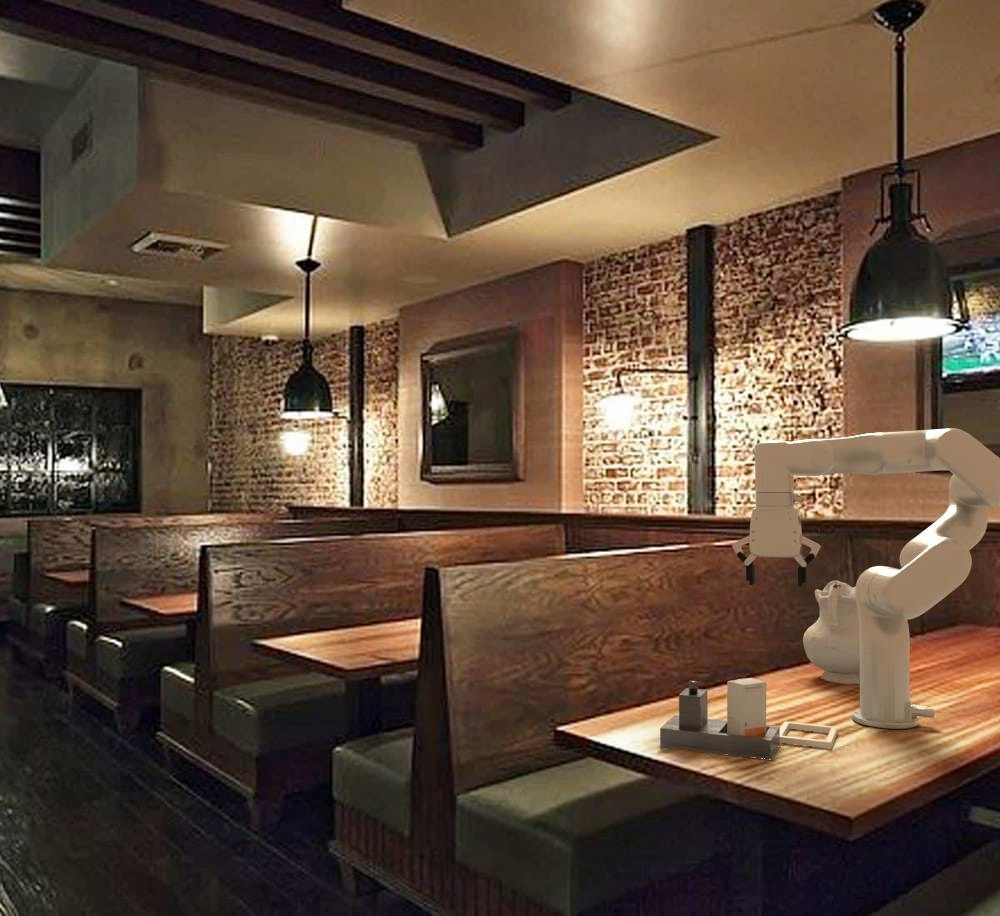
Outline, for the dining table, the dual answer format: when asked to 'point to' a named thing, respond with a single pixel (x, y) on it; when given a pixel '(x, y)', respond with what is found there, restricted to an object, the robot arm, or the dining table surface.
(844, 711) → the dining table surface
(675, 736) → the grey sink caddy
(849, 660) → the ceramic pitcher
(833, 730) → the tray frame
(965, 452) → the robot arm
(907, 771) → the dining table surface
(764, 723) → the skincare box
